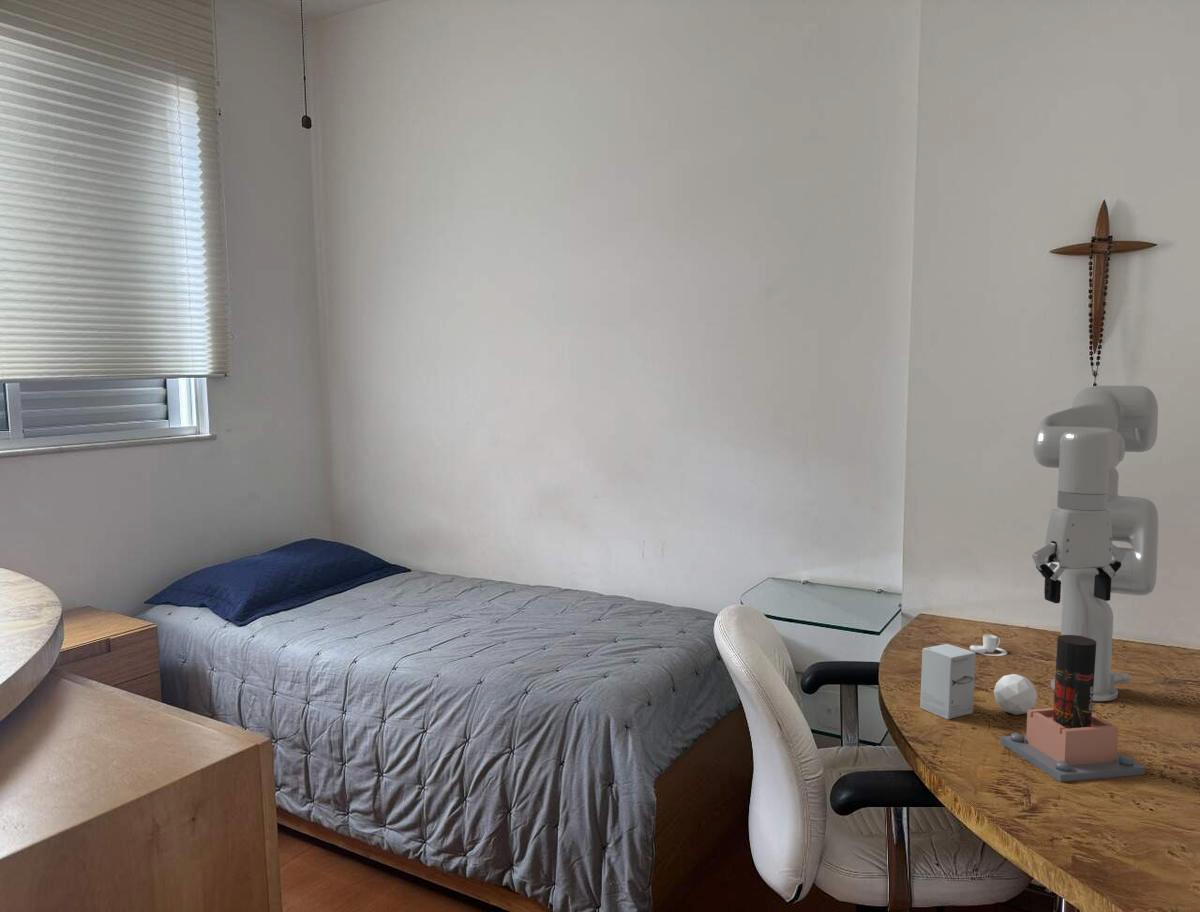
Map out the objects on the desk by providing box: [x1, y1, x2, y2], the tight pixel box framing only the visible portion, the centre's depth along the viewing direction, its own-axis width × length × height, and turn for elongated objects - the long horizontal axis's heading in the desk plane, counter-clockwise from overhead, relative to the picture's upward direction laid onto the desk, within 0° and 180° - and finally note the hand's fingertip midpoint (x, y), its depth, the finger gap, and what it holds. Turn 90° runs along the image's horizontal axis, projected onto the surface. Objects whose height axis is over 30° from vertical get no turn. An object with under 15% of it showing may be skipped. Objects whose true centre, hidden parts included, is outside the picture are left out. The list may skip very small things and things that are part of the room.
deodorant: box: [1052, 634, 1096, 728], centre depth 154 cm, size 6×6×15 cm
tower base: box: [1000, 707, 1146, 783], centre depth 155 cm, size 16×16×7 cm
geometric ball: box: [993, 673, 1038, 716], centre depth 177 cm, size 8×8×8 cm
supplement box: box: [919, 643, 977, 721], centre depth 177 cm, size 7×7×13 cm
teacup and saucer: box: [969, 634, 1008, 657], centre depth 217 cm, size 9×8×4 cm
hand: (1077, 600), depth 153 cm, fingers open, 9 cm apart
